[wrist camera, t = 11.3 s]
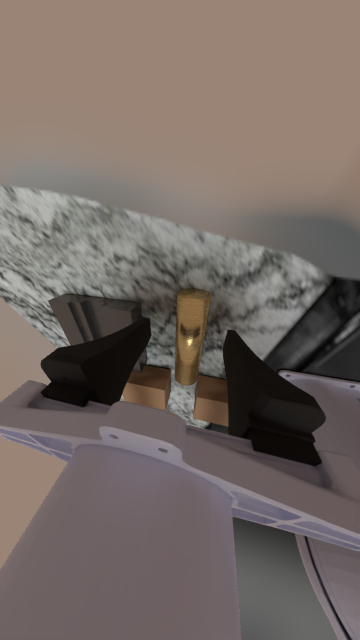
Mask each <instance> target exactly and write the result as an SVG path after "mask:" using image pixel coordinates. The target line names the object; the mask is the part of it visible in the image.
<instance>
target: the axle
mask: <svg viewBox="0 0 360 640" xmlns="http://www.w3.org/2000/svg"><path fill="white" fill-rule="evenodd" d="M210 301H211V294H210V293H209V292H207V291H204V290H200V289H183V290H180V291H178V293H177V316H176V349H175V379H176V380H177V382H178V383H180V384H182V385H185V386H189V385H192V384H194V383H195V382H196V380H197V377H198V371H199V366H200V360H201V354H202V348H203V342H204V336H205V331H206V325H207V319H208V313H209V307H210Z"/></svg>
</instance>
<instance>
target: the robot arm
mask: <svg viewBox="0 0 360 640" xmlns="http://www.w3.org/2000/svg"><path fill="white" fill-rule="evenodd" d="M150 337H151V327H150V318H142V319H140V320H138V321H136V322H134V323H132V324H131V325H129V326H127V327H125V328H123V329H121V330H119V331H117V332H115V333H112V334H110V335H107V336H105V337H102V338H99V339H95V340H92V341H89V342H85V343H81V344H77V345H71V346H66V347H61V348H58V349H56V350H55V351H54V352H52V353H51V354H50V355H48V356H47V357H46V358H44V359H43V360H42V361H41V368H42V369H43V371H44V372H45V373H46V375H47V376H48V378H49V379H50V380H51V383H50V384H49V385H48V386H47V385H45V384H43V383H39V382H35V381H31V380H29V381H27V382H26V383H25V384H23V385H22V386H21V387H20V388H18V389H17V390H16V391H14V392H13V393H12V394H11V395H9V396H8V397H7V398H5V399H4V400H3V401H2V402H1V403H0V436H2V437H3V438H5V439H7V440H9V441H12V442H15V443H18V444H21V445H24V446H27V447H30V448H32V449H35V450H38V451H41V452H43V453H46V454H49V455H51V456H53V457H56V458H59V459H61V460H64V461H66V462H68V463H67V465H66V466H65V468H64V470H63V471H62V473H61V474H60V476H59V477H58V479H57V481H56V482H55V484H54V486H53V487H52V489H51V490H50V492H49V493H48V495H47V496H46V498H45V500H44V501H43V503H42V504H41V506H40V508H39V509H38V511H37V512H36V514H35V516H34V517H33V519H32V520H31V522H30V524H29V525H28V527H27V528H26V530H25V532H24V533H23V535H22V536H21V538H20V539H19V541H18V543H17V544H16V546H15V548H14V549H13V550H12V552H11V554H10V555H9V557H8V559H7V560H6V562H5V563H4V565H3V566H2V568H1V570H0V640H241V630H240V616H239V603H238V590H237V577H236V563H235V549H234V537H233V536H234V535H233V522H232V516H234V517H237V518H241V519H245V520H249V521H252V522H256V523H260V524H264V525H267V526H271V527H275V528H279V529H283V530H286V531H290V532H294V533H295V535H296V540H297V544H298V548H299V551H300V555H301V558H302V561H303V564H304V567H305V570H306V572H307V575H308V578H309V580H310V583H311V585H312V587H313V589H314V591H315V594H316V596H317V598H318V600H319V602H320V604H321V605H322V607H323V609H324V611H325V613H326V615H327V617H328V619H329V621H330V623H331V625H332V627H333V629H334V631H335V634H336V636H337V638H338V640H360V383H359V382H353V381H347V380H341V379H335V378H329V377H323V376H317V375H311V374H305V373H299V372H293V371H286V370H280V371H279V372H278V373H276V372H275V371H274V370H272V369H271V368H270V367H269V366H267V365H266V364H265V363H264V362H263V361H262V360H261V359H260V358H259V357H257V356H256V355H255V353H254V352H253V351H252V350H251V349H250V348H249V347H248V346H247V345H246V344H245V342H244V341H243V340H242V339H241V337H240V336H239V335H238V333H237V332H236V331H234V330H228V331H227V335H226V338H225V342H224V345H223V359H224V366H225V372H226V379H227V390H228V435H227V434H223V433H219V432H215V431H211V430H206V429H202V428H198V427H194V426H190V425H186V424H185V422H184V420H183V419H182V418H181V417H180V416H178V415H177V414H174V413H172V412H169V411H165V410H161V409H157V408H153V407H148V406H144V405H140V404H136V403H131V402H126V401H120V398H121V396H122V393H123V391H124V388H125V386H126V384H127V381H128V379H129V377H130V374H131V372H132V370H133V368H134V366H135V364H136V362H137V361H138V359H139V358H140V356H141V354H142V353H143V351H144V349H145V348H146V346H147V344H148V342H149V340H150Z"/></svg>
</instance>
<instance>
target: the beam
mask: <svg viewBox="0 0 360 640" xmlns="http://www.w3.org/2000/svg"><path fill="white" fill-rule="evenodd" d="M170 392H171V370H169V369H164V368H158V367H153V366H147V365H145V366H144V368H143V370H142V372H141V373H138V372H133V371H132V372H131V374H130V377H129V379H128V381H127V384H126V386H125V388H124V391H123V393H122V394H123V397H124V400H125V401H126V402H131V403H136V404H140V405H144V406H148V407H153V408H157V409H161V410H165V411H166V408H167V404H168V400H169V396H170ZM193 418H194V419H198V420H202V421H207V422H211V423H216V424H220V425H225V426H228V390H227V380H224V379H218V378H213V377H207V376H202V375H199V377H198V383H197V389H196V394H195V403H194V414H193Z"/></svg>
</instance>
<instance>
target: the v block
mask: <svg viewBox="0 0 360 640" xmlns="http://www.w3.org/2000/svg"><path fill="white" fill-rule="evenodd" d="M48 302H49V304H50V306H51V308H52V309H53V311H54V313H55V315H56V317H57V319H58V321H59V323H60V325H61V327H62V329H63V331H64V333H65V335H66V337H67V339H68V341H69V343H70V345H77V344H81V343H85V342H89V341H92V340H95V339H99V338H102V337H105V336H107V335H110V334H112V333H115V332H117V331H119V330H121V329H123V328H125V327H127V326H129V325H131V324H132V323H134V322H136V321H138V320H140V319H141V311H140V303H138V302H130V301H121V300H113V299H105V298H96V297H88V296H80V295H71V294H63V295H61V296H58V297H56V298H53V299H51V300H49V301H48ZM146 362H147V358H146V350H145V349H144V351H143V353H142V354H141V356H140V358H139V359H138V361H137V362H136V364H135V366H134V368H133V370H132V371H133V372H138V373H141V372H142V370H143V368H144V366H145V364H146Z"/></svg>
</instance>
